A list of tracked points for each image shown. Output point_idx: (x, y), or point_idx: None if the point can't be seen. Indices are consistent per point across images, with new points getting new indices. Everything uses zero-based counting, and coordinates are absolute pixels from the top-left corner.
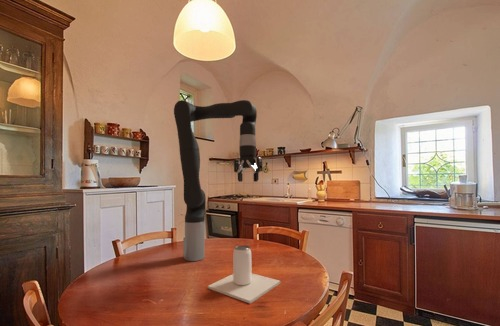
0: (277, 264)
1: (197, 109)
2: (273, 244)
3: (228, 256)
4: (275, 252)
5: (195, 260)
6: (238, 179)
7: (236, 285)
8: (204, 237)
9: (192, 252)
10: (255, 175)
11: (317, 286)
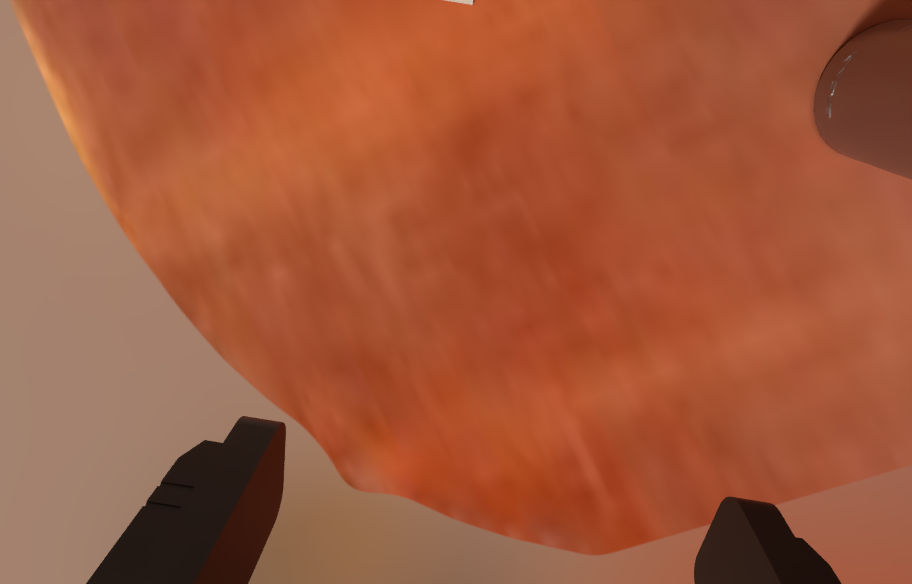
0: (348, 217)
1: None
2: (513, 513)
3: (672, 222)
4: (443, 392)
5: (848, 41)
6: (787, 531)
7: None
8: (902, 158)
9: (904, 29)
10: (168, 542)
11: (48, 14)
